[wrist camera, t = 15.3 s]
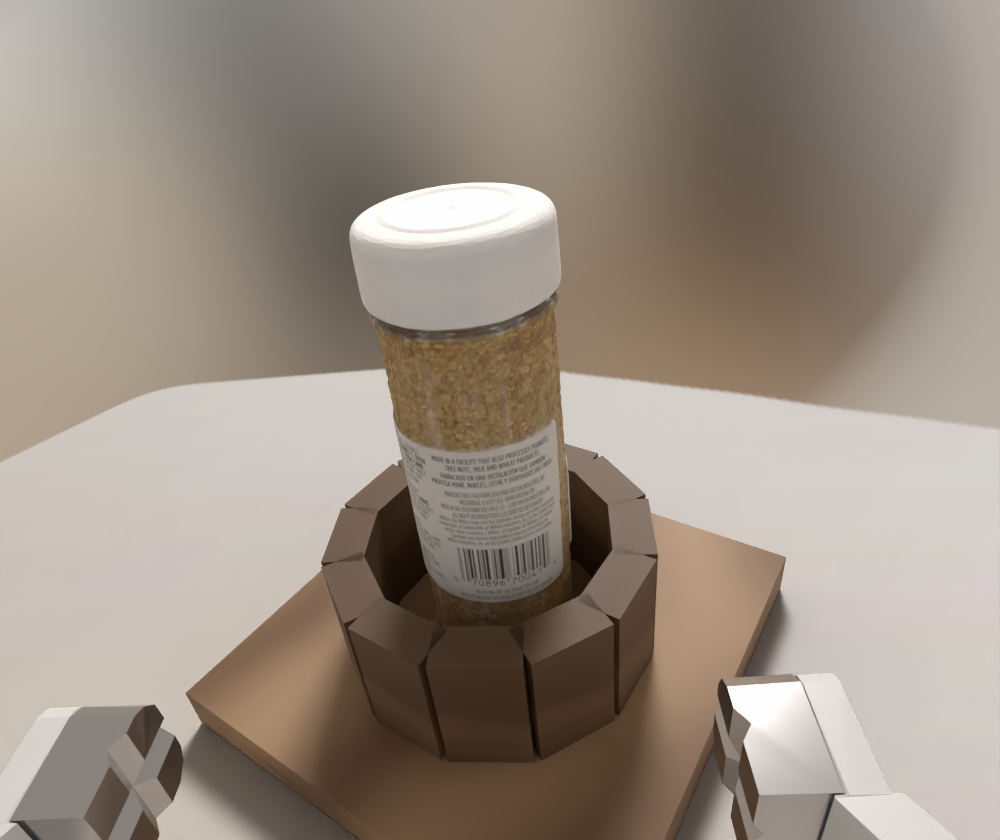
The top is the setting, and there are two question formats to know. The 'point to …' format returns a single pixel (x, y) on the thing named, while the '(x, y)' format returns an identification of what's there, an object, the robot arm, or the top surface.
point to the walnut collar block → (499, 677)
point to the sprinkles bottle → (475, 390)
